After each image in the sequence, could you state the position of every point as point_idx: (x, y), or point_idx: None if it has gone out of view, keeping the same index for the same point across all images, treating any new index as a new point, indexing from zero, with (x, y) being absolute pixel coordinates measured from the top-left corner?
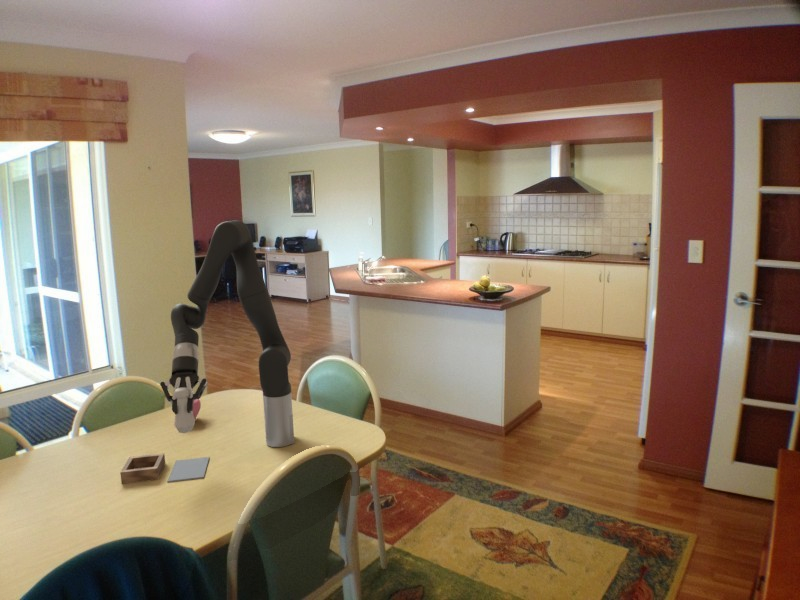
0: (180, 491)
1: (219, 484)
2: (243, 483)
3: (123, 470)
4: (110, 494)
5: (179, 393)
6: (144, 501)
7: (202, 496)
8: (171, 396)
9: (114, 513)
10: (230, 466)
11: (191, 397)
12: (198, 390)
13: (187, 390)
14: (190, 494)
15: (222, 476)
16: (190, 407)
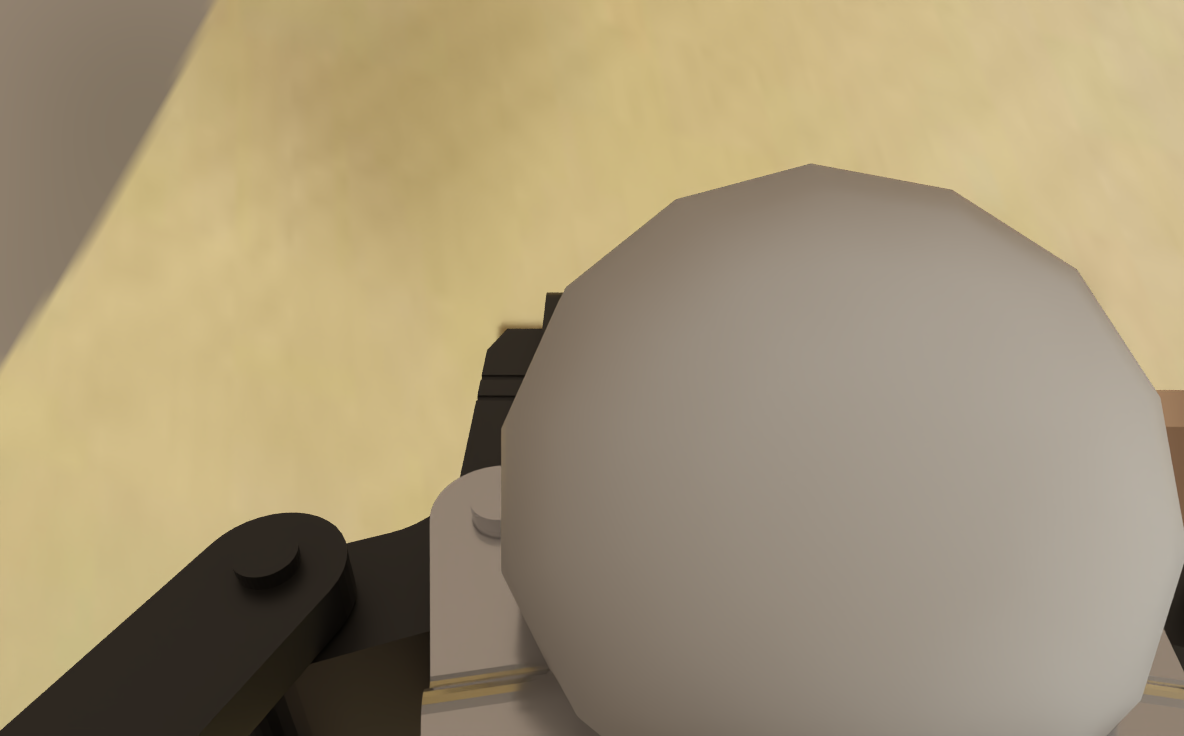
0: (647, 180)
1: (382, 211)
2: (213, 183)
3: (1179, 424)
4: (1145, 260)
5: (862, 179)
6: (867, 107)
7: (486, 79)
8: (1176, 618)
9: (1017, 9)
10: (309, 483)
11: (475, 479)
12: (159, 679)
13: (552, 359)
14: (571, 124)
15: (366, 327)
16: (527, 344)
